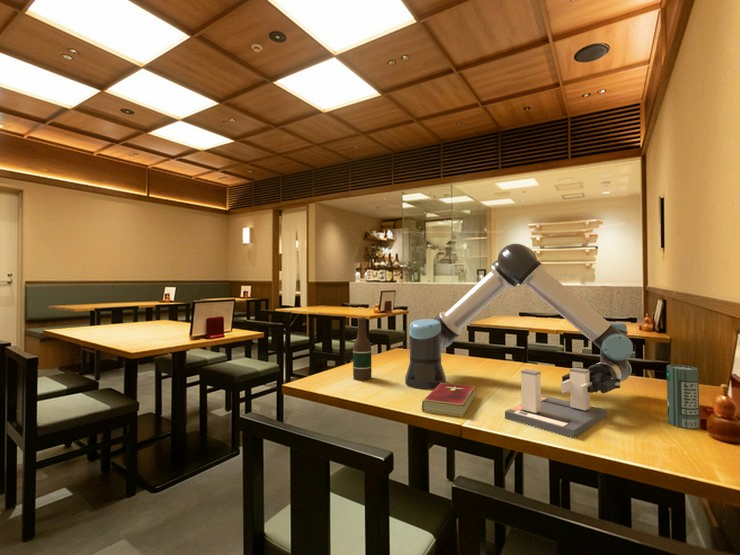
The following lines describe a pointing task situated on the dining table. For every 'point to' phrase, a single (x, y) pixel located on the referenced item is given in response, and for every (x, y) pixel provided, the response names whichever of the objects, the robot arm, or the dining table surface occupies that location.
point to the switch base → (551, 410)
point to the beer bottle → (362, 353)
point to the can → (683, 396)
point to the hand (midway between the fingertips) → (571, 389)
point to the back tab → (576, 380)
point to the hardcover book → (449, 399)
